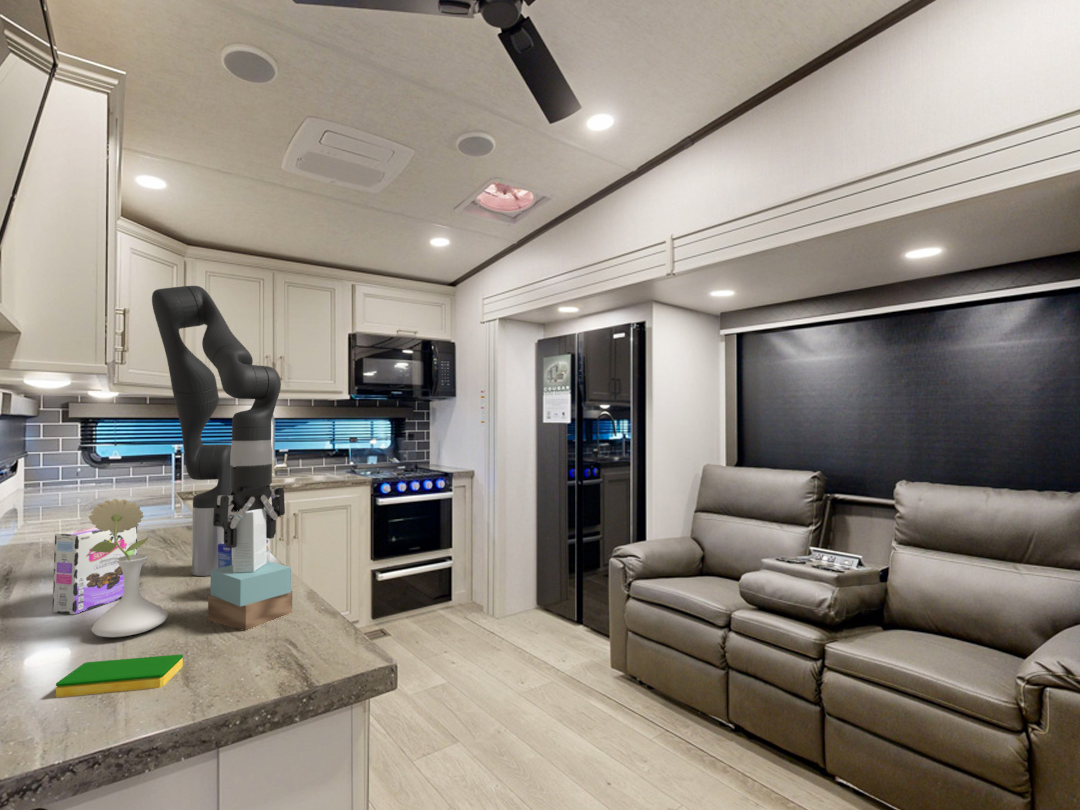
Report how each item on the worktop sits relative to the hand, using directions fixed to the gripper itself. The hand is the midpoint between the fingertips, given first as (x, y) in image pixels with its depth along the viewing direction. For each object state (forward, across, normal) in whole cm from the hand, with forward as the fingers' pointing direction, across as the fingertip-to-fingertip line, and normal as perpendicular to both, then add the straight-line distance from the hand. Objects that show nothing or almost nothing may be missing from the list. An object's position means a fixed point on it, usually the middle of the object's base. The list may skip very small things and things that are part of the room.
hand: (250, 542), depth 108 cm
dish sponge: (+16, +26, +6) cm, 31 cm away
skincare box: (+5, 0, 0) cm, 6 cm away
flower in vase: (+15, +15, -15) cm, 26 cm away
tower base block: (+15, 0, 0) cm, 15 cm away
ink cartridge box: (+15, -10, -15) cm, 24 cm away
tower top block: (+10, 0, 0) cm, 10 cm away
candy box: (+15, +8, -38) cm, 42 cm away
